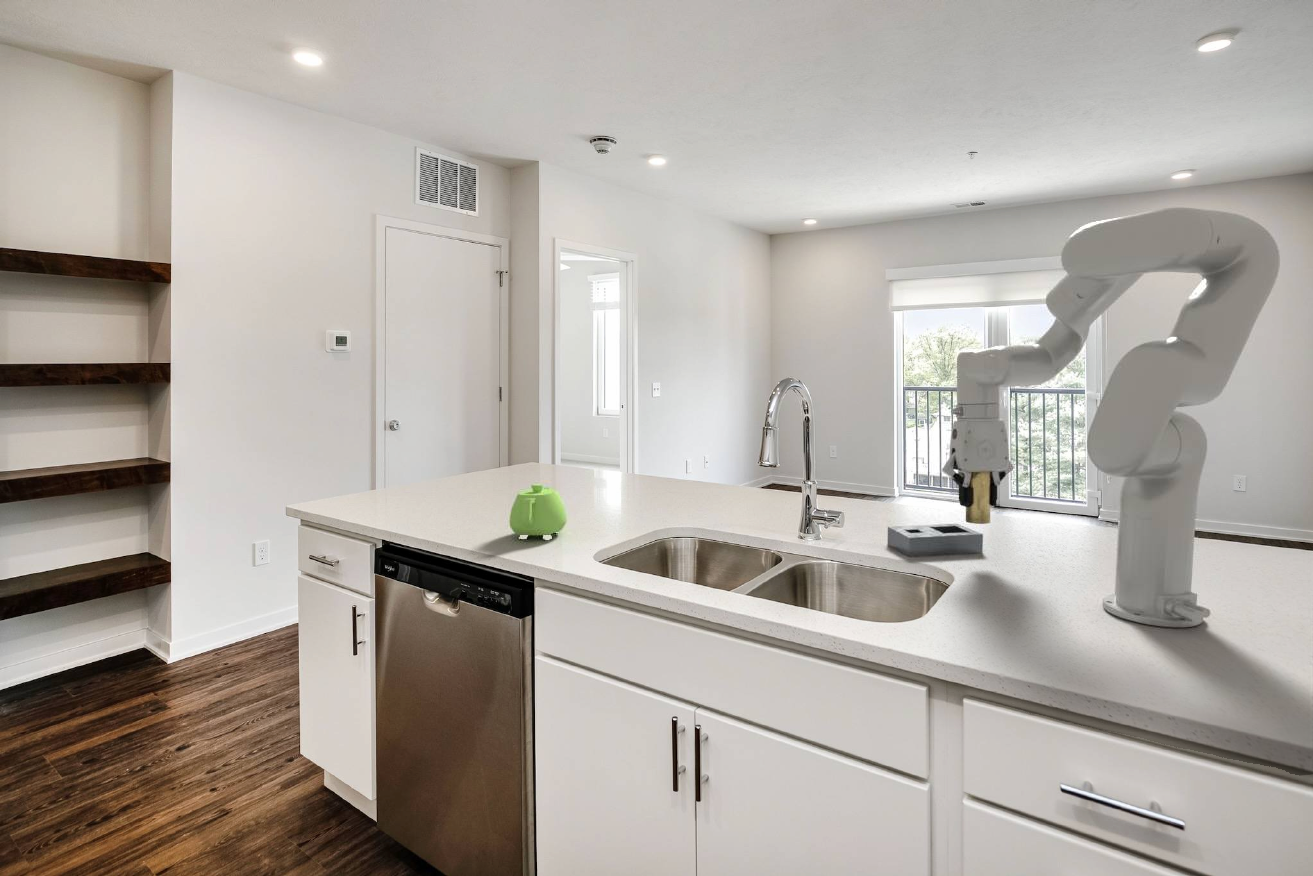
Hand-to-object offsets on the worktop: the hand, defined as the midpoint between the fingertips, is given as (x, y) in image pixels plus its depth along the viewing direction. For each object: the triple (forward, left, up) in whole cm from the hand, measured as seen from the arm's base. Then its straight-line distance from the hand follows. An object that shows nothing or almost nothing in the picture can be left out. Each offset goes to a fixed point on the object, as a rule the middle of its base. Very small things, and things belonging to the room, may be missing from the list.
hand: (977, 504), depth 135 cm
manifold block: (+11, +3, -12) cm, 16 cm away
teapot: (+39, +88, -12) cm, 97 cm away
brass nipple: (0, 0, -3) cm, 3 cm away
